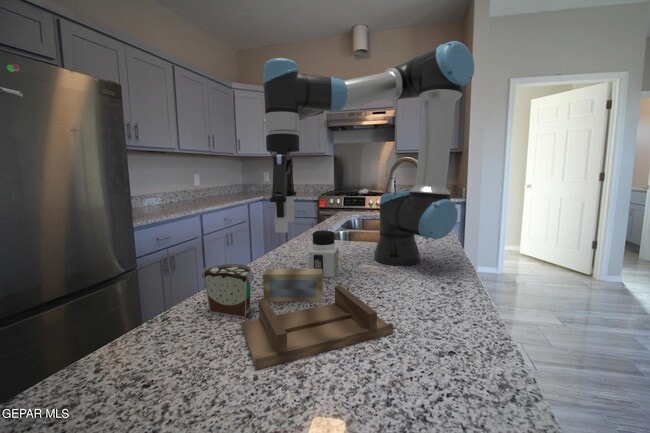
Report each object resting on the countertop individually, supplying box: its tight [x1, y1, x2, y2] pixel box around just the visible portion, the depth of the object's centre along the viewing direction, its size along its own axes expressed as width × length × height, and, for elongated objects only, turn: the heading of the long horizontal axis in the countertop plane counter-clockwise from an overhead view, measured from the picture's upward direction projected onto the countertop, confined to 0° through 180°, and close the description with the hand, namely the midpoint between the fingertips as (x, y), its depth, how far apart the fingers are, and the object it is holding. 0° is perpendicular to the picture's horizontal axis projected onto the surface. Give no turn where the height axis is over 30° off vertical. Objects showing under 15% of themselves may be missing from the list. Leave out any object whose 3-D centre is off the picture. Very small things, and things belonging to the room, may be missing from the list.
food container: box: [201, 263, 255, 319], centre depth 70 cm, size 12×6×10 cm, turn 71°
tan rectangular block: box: [262, 268, 324, 303], centre depth 76 cm, size 14×4×7 cm, turn 88°
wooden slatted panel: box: [240, 285, 394, 371], centre depth 61 cm, size 26×15×5 cm, turn 113°
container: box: [307, 229, 339, 279], centre depth 94 cm, size 8×8×13 cm
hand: (285, 226), depth 74 cm, fingers open, 13 cm apart
